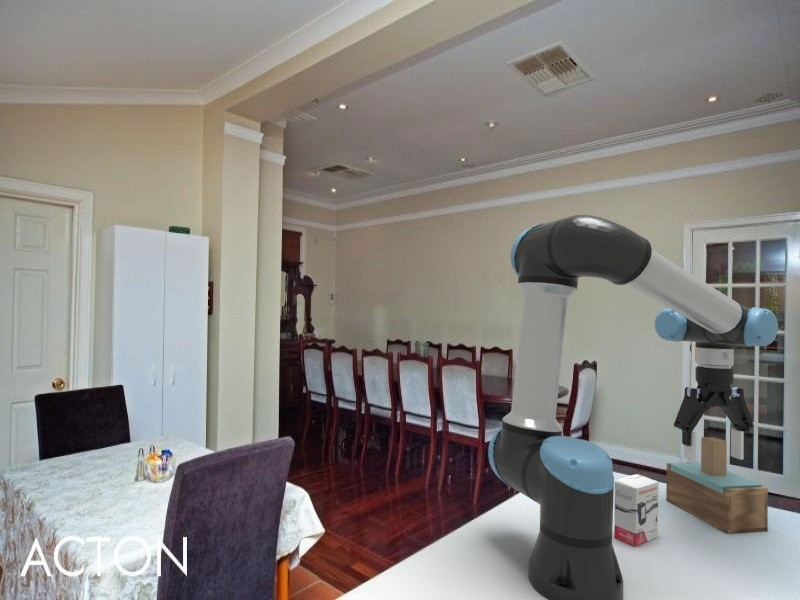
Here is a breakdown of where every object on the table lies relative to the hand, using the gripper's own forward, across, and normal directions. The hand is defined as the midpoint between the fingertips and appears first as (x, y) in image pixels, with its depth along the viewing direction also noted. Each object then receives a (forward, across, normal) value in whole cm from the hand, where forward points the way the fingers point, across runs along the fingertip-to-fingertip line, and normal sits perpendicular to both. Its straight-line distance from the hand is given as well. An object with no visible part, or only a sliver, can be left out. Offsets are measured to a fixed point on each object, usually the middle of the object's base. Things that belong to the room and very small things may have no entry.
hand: (713, 458), depth 111 cm
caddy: (+13, 0, 0) cm, 13 cm away
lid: (+5, 0, 0) cm, 5 cm away
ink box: (+13, -26, -8) cm, 30 cm away
